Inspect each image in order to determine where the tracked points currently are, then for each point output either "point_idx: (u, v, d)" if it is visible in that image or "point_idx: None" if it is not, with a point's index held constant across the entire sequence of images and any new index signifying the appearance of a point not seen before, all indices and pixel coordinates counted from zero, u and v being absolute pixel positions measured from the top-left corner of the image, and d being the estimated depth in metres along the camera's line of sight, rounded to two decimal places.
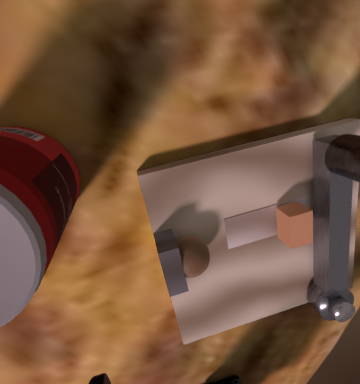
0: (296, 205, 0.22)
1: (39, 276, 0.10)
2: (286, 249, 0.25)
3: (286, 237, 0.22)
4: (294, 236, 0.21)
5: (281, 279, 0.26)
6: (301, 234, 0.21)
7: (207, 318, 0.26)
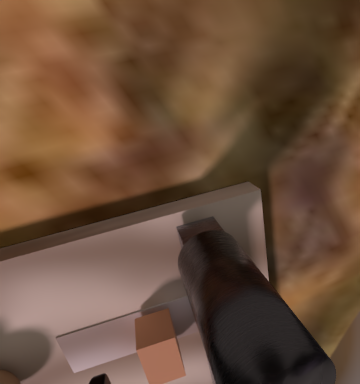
0: (161, 319, 0.15)
1: None
2: None
3: None
4: (152, 372, 0.14)
5: None
6: (163, 368, 0.14)
7: None
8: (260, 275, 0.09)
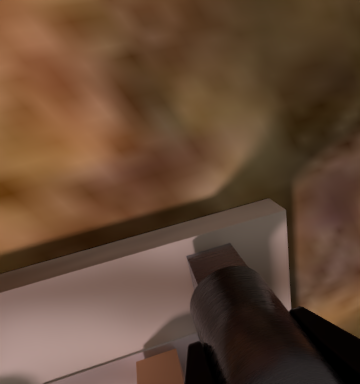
0: (168, 363, 0.12)
1: None
2: None
3: None
4: None
5: None
6: None
7: None
8: (305, 339, 0.07)
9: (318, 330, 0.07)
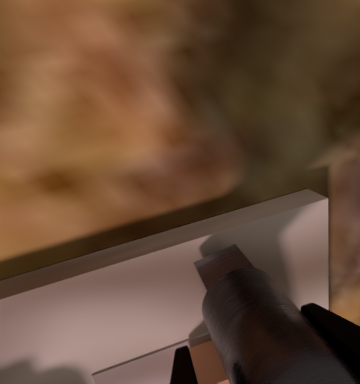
0: None
1: None
2: None
3: None
4: None
5: None
6: None
7: None
8: (316, 337, 0.07)
9: (331, 325, 0.07)
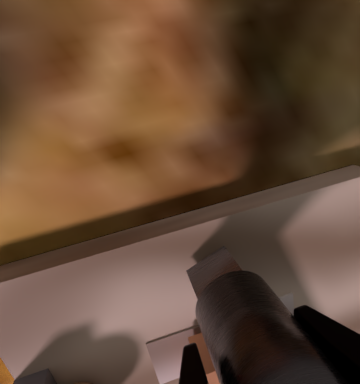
0: None
1: None
2: None
3: None
4: None
5: None
6: None
7: None
8: (295, 339, 0.07)
9: (323, 328, 0.07)
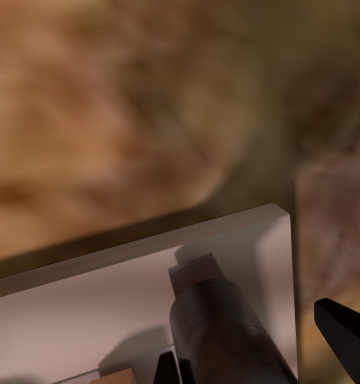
0: (120, 383, 0.12)
1: None
2: None
3: None
4: None
5: None
6: None
7: None
8: (272, 356, 0.07)
9: (347, 320, 0.07)
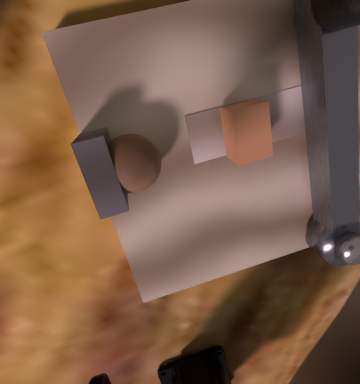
0: (248, 102, 0.15)
1: None
2: (277, 169, 0.18)
3: (234, 149, 0.15)
4: (243, 144, 0.14)
5: (271, 213, 0.19)
6: (254, 141, 0.14)
7: (172, 266, 0.19)
8: None
9: None
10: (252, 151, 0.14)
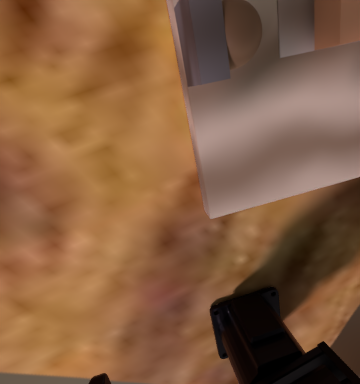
0: None
1: None
2: (357, 74, 0.18)
3: (331, 30, 0.14)
4: (346, 19, 0.14)
5: (346, 127, 0.19)
6: (356, 17, 0.14)
7: (244, 178, 0.18)
8: None
9: None
10: (353, 28, 0.14)
